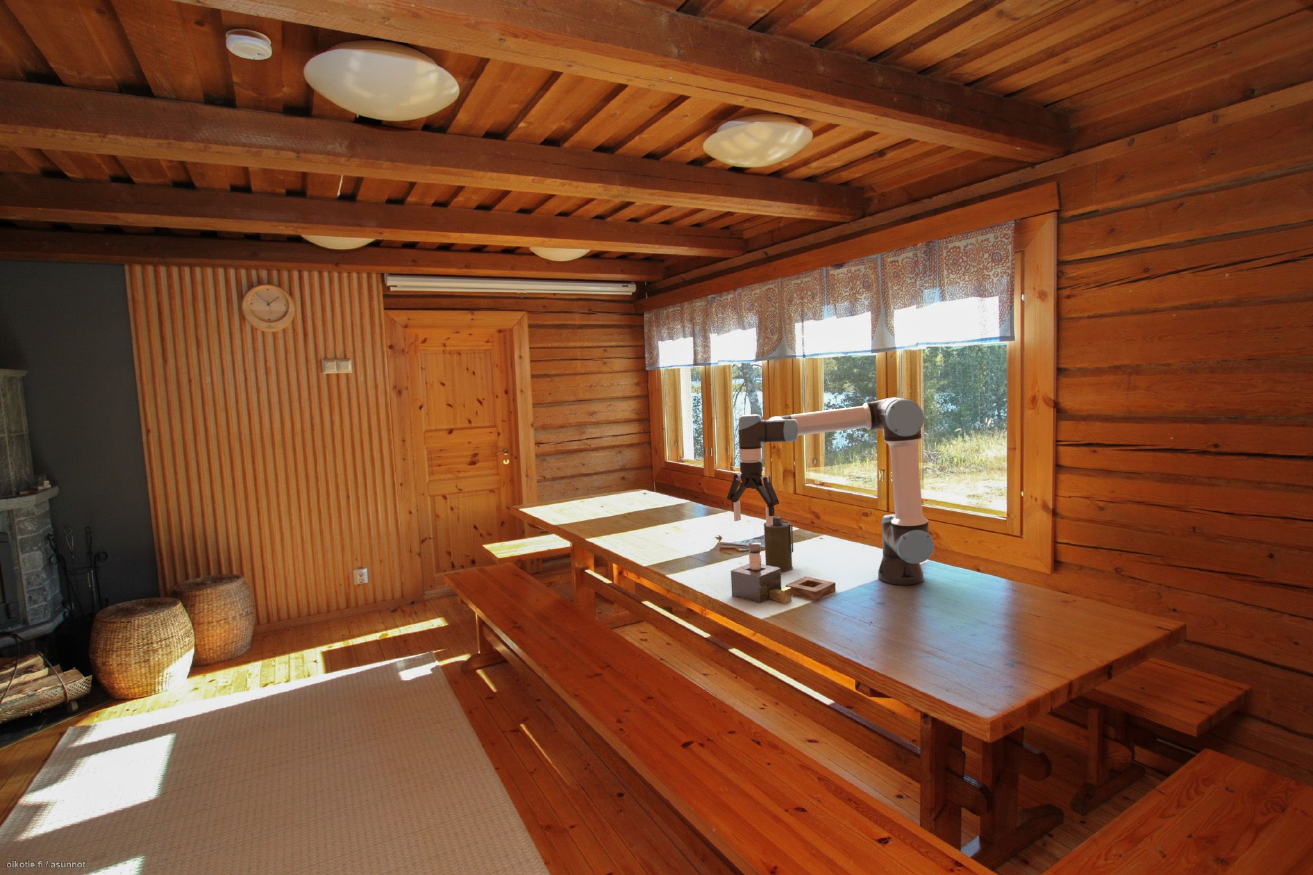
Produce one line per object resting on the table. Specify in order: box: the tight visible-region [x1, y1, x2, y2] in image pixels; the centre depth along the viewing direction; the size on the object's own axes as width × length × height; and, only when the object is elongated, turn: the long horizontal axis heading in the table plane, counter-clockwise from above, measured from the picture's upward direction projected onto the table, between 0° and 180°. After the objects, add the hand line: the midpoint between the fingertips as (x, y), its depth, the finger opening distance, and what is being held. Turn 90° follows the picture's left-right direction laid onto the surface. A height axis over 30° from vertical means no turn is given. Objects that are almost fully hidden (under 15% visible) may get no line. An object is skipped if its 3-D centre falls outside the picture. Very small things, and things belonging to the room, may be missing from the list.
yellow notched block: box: [768, 586, 792, 605], centre depth 227 cm, size 12×4×4 cm, turn 44°
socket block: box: [730, 563, 782, 604], centre depth 232 cm, size 12×12×9 cm
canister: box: [763, 515, 794, 573], centre depth 261 cm, size 11×10×20 cm
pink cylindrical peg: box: [748, 541, 762, 572], centre depth 231 cm, size 4×4×14 cm
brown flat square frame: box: [784, 576, 836, 602], centre depth 232 cm, size 12×12×3 cm
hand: (753, 523), depth 230 cm, fingers open, 13 cm apart
